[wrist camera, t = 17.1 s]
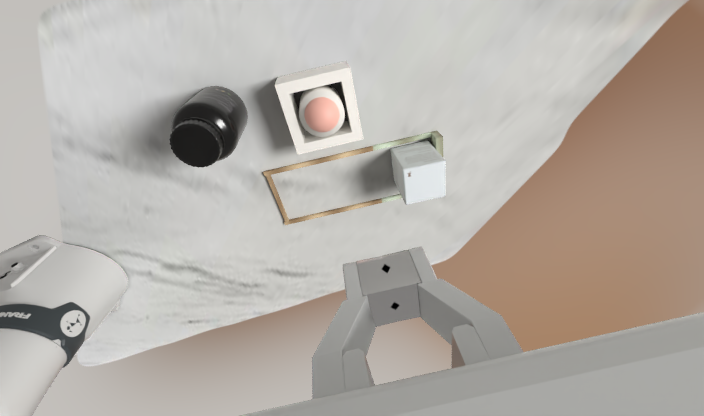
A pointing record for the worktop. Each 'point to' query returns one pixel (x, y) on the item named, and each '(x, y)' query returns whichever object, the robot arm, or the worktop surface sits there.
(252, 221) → the worktop surface
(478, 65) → the worktop surface
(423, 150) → the product box
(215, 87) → the supplement bottle
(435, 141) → the track
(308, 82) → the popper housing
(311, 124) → the white pink rounded piece
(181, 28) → the worktop surface
